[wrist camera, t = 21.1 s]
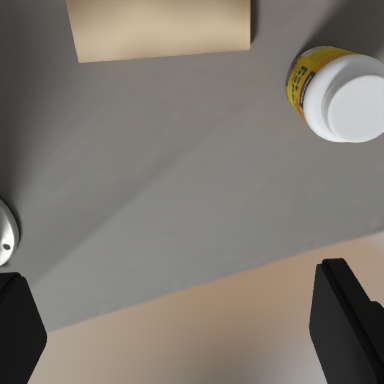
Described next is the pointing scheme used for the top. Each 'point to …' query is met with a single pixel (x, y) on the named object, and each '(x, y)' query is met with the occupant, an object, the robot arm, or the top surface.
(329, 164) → the top surface
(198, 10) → the frame
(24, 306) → the robot arm
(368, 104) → the supplement bottle
